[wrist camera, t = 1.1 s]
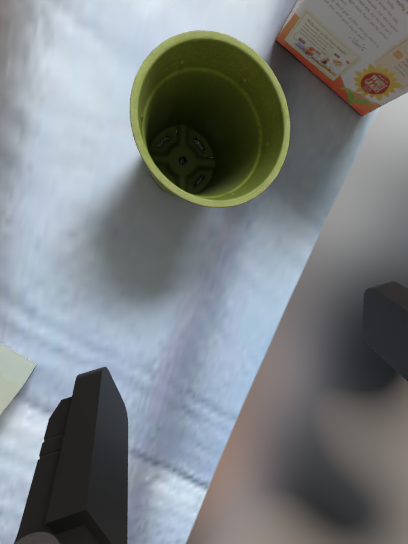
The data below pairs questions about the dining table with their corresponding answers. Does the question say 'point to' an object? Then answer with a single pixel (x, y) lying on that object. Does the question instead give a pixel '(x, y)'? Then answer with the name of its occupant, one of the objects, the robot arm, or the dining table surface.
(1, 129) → the dining table surface
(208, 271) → the dining table surface
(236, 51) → the plant pot
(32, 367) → the hole block
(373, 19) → the cracker box
